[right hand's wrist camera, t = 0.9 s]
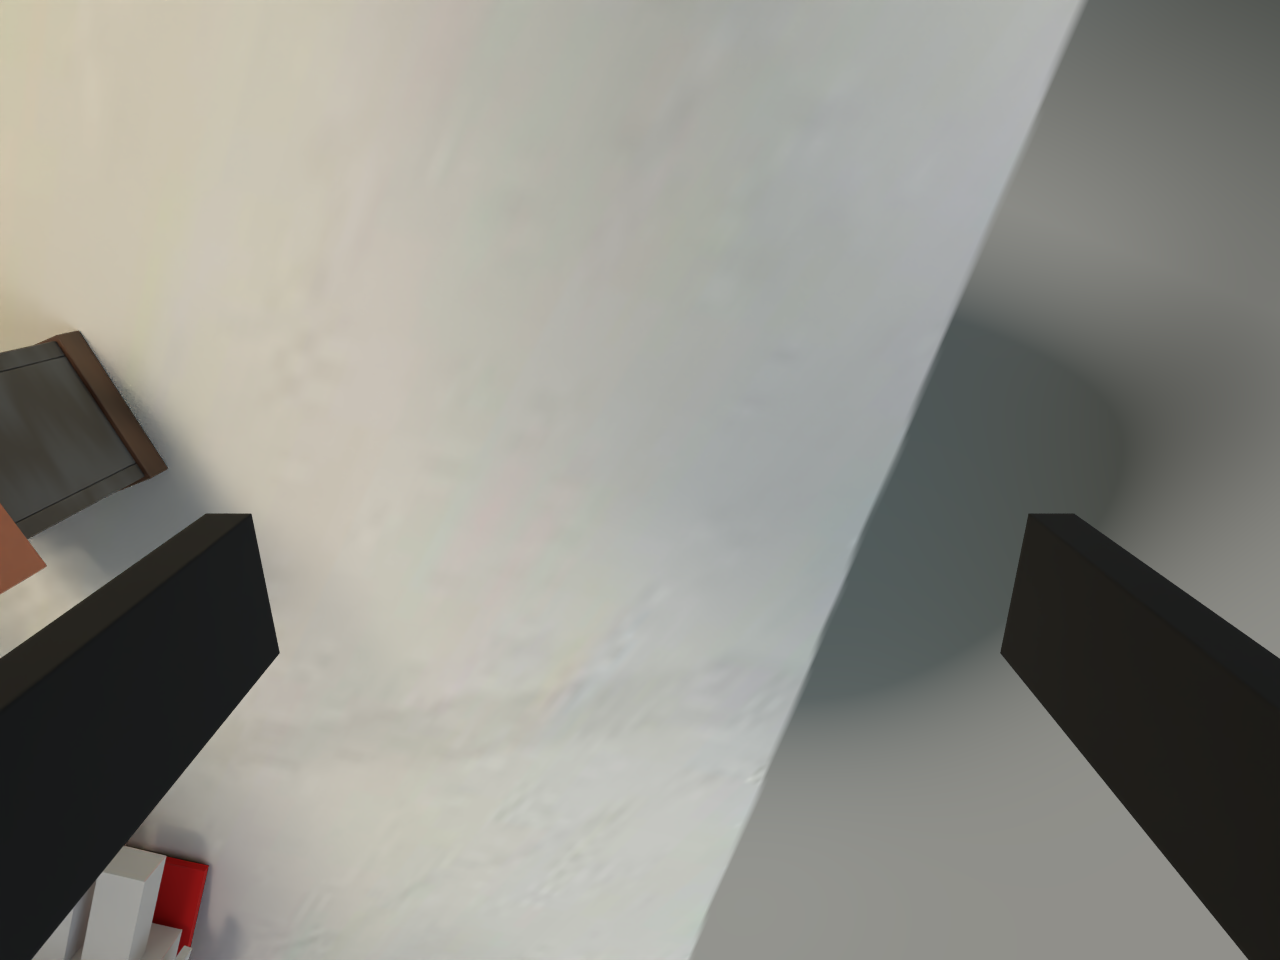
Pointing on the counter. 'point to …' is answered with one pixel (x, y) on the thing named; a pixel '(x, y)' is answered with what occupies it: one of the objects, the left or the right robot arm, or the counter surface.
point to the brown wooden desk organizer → (64, 434)
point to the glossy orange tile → (15, 554)
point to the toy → (133, 911)
